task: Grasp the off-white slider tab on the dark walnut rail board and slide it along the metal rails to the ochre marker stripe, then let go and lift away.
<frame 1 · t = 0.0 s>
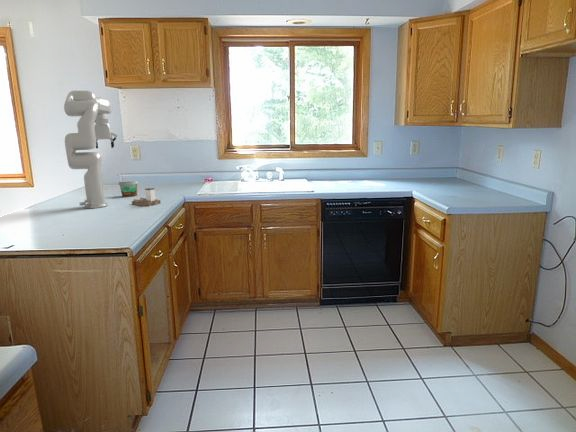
hand: (104, 148, 281), 31 cm above the worktop, tool pointing down, fingers open, 9 cm apart
rail board: (146, 203, 250), on the worktop
food container: (129, 196, 277), on the worktop
slider tab: (150, 194, 247), point 6 cm above the worktop, slide at -4.0 cm
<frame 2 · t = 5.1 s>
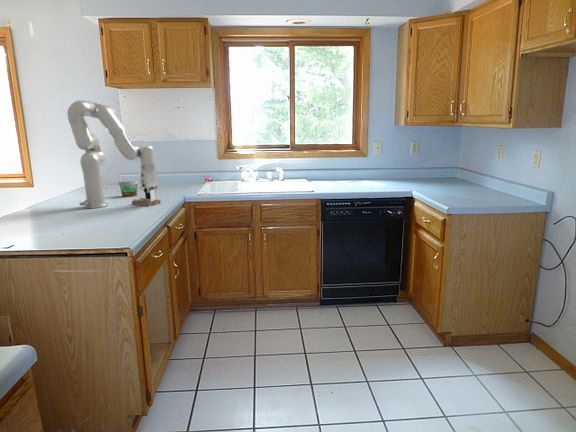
hand: (150, 198, 248), 4 cm above the worktop, tool pointing down, fingers closed on slider tab, 3 cm apart
slider tab: (150, 194, 247), point 6 cm above the worktop, slide at -4.0 cm, touching gripper
everything else where it was.
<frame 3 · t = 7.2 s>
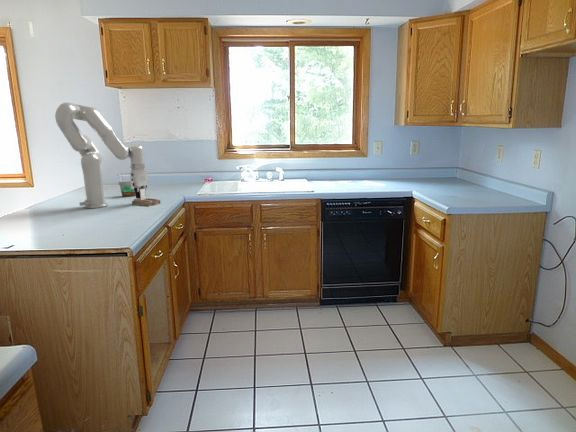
hand: (140, 197, 251), 4 cm above the worktop, tool pointing down, fingers closed on slider tab, 3 cm apart
slider tab: (140, 193, 251), point 6 cm above the worktop, slide at 4.0 cm, touching gripper
everything else where it was.
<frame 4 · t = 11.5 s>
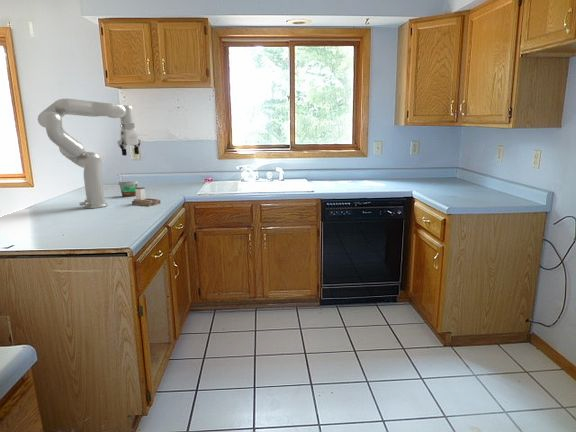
hand: (130, 154, 257), 28 cm above the worktop, tool pointing down, fingers open, 9 cm apart
slider tab: (140, 193, 251), point 6 cm above the worktop, slide at 4.0 cm
everything else where it was.
at the end: slider tab slide at 4.0 cm; the gripper is holding nothing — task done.
